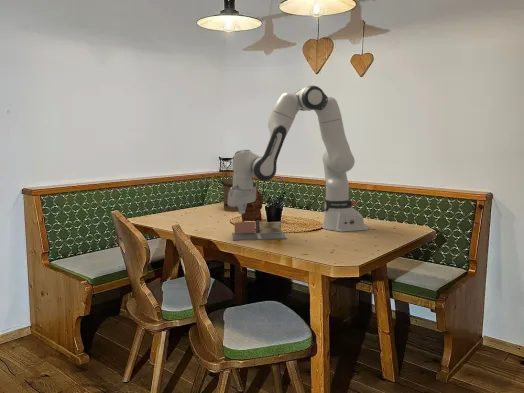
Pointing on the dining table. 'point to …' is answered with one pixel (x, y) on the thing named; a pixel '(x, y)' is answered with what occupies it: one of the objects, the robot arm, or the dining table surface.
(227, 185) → the wooden container
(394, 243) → the dining table surface
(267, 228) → the fixed fence panel
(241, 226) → the hinged fence panel
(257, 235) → the card
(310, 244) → the dining table surface
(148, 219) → the dining table surface
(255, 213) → the wooden figurine
